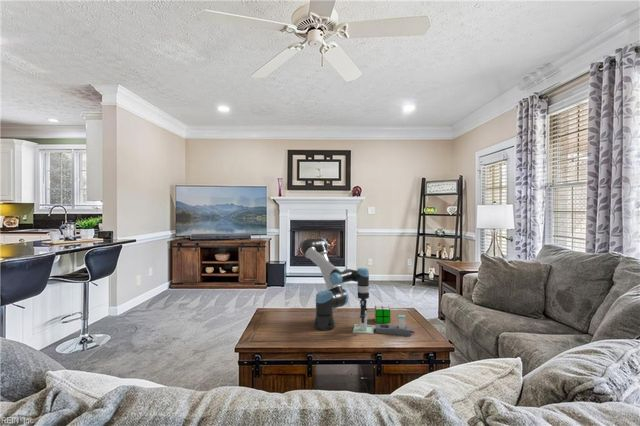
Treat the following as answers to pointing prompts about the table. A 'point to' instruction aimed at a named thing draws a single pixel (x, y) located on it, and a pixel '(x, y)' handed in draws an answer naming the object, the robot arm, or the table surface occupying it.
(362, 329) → the plug
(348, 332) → the table surface
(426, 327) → the table surface
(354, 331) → the tray
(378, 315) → the puzzle cube
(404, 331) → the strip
